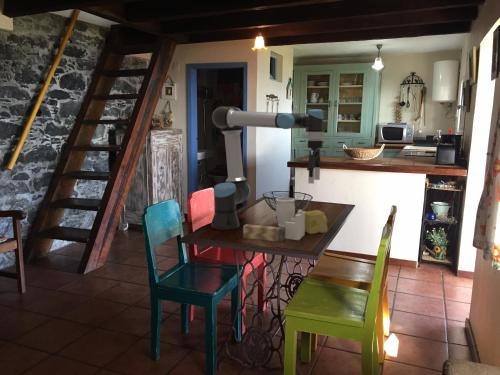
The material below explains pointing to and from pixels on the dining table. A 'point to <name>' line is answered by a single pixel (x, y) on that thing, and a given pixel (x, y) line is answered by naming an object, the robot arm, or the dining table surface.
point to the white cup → (284, 210)
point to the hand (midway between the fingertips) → (314, 181)
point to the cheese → (315, 222)
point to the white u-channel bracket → (295, 226)
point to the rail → (264, 232)
